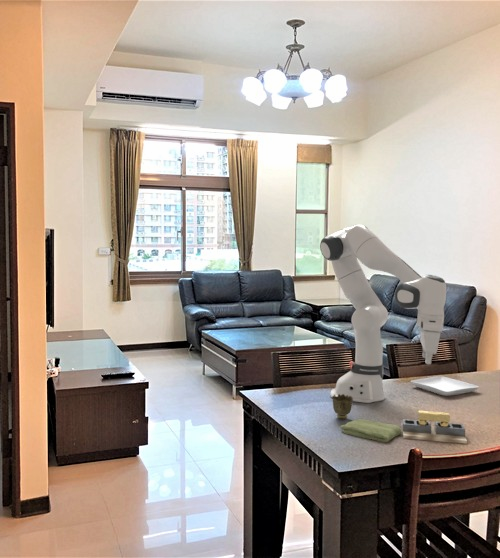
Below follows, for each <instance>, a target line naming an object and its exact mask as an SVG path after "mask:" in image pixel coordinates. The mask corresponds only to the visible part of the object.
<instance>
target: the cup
mask: <svg viewBox="0 0 500 558" xmlns="http://www.w3.org/2000/svg"><path fill="white" fill-rule="evenodd" d="M331 398H332V409H333V411H334V413H335V414H336V417H337V418H338V419H340V420H346V419H347V418H348V415H350V413H351V411H352V407H353V402H354V401H353V398H352V396H349V397H348V395H347V396H345V395H344V394H342V395H340V394H338V397H337V396H335V395H334V396H332V397H331Z"/></svg>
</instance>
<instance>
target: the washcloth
mask: <svg viewBox="0 0 500 558" xmlns="http://www.w3.org/2000/svg"><path fill="white" fill-rule="evenodd" d="M340 429H341V430H342V431H343V434H345V435H349V436H355V437H359V438H363V439H368V440H371V439H372V440H371V441H376V440H378V441H377V442H381V441H382V442H381V443H388V442H390V441H391V440H393V438H394V437H397V436H399V435H400V434H402V428H401V427H400V426H399V425H396V424H390V423H389V424H388V423H384V422H379V421H374V420H373V421H372V420H368V419H364V418H363V419H362V418H358V419H354V420H351V421H348V422H347V423H346V424H342V425H340Z"/></svg>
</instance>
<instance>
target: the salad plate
mask: <svg viewBox="0 0 500 558" xmlns="http://www.w3.org/2000/svg"><path fill="white" fill-rule="evenodd" d="M410 383H411V384H412V385H413V386H415V387H417V388H420V389H421V388H422V390H424V391H427V390H428V391H427V392H430V391H431V393H433V392H434V393H433V394H436V393H437V394H436V395H441V396H445V397H451V396H455V395H456V396H457V395H462V394H467V393H472V392H475V391H476V390H478V389H479V388H480V386H478V385H476V384H472V383H470V382H469V383H468V382H466V381H462V380H458V379H455V378H454V379H453V378H451V377H446V376H443V375H442V376H440V375H439V376H431V377H427V378H426V377H425V378H419V379H414V380H413V379H412V380H410Z"/></svg>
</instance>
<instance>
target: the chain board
mask: <svg viewBox="0 0 500 558" xmlns="http://www.w3.org/2000/svg"><path fill="white" fill-rule="evenodd" d="M400 425H401V427H400V428H401V434H402V438H403V439H411V440H421V441H433V442H441V443H442V442H444V443H456V444H465V445H467V444H468V440H467V438H466V436H465V437H462V436H451V435H439V434H436V432H435V429H434V425H435V424H434V425H432V424H431V434H428V433H417V432H405V431H403V429H402V422H401V424H400Z"/></svg>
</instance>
